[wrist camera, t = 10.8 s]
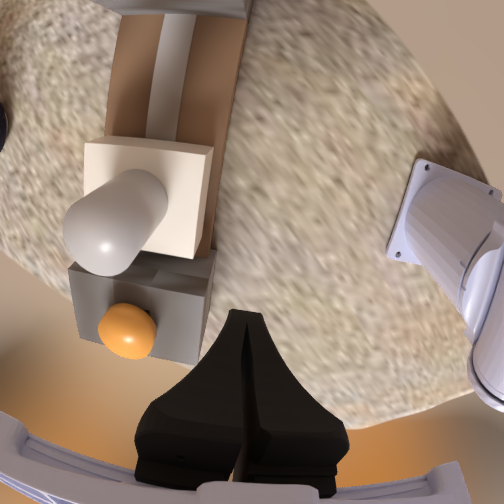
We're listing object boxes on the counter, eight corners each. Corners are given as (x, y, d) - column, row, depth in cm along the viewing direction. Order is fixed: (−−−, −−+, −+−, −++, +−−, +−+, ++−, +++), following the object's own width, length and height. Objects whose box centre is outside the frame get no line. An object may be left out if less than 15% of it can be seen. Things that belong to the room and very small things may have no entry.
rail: (266, -24, 14) (268, -67, 9) (208, 313, 26) (196, 370, 20) (136, -28, 14) (96, -60, 8) (108, 293, 26) (77, 341, 20)
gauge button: (164, 292, 20) (151, 322, 17) (163, 333, 21) (152, 364, 19) (113, 282, 19) (94, 309, 17) (116, 323, 21) (101, 351, 18)
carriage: (214, 146, 18) (182, 179, 11) (201, 237, 21) (172, 312, 14) (107, 135, 18) (30, 163, 11) (105, 221, 20) (43, 282, 13)
